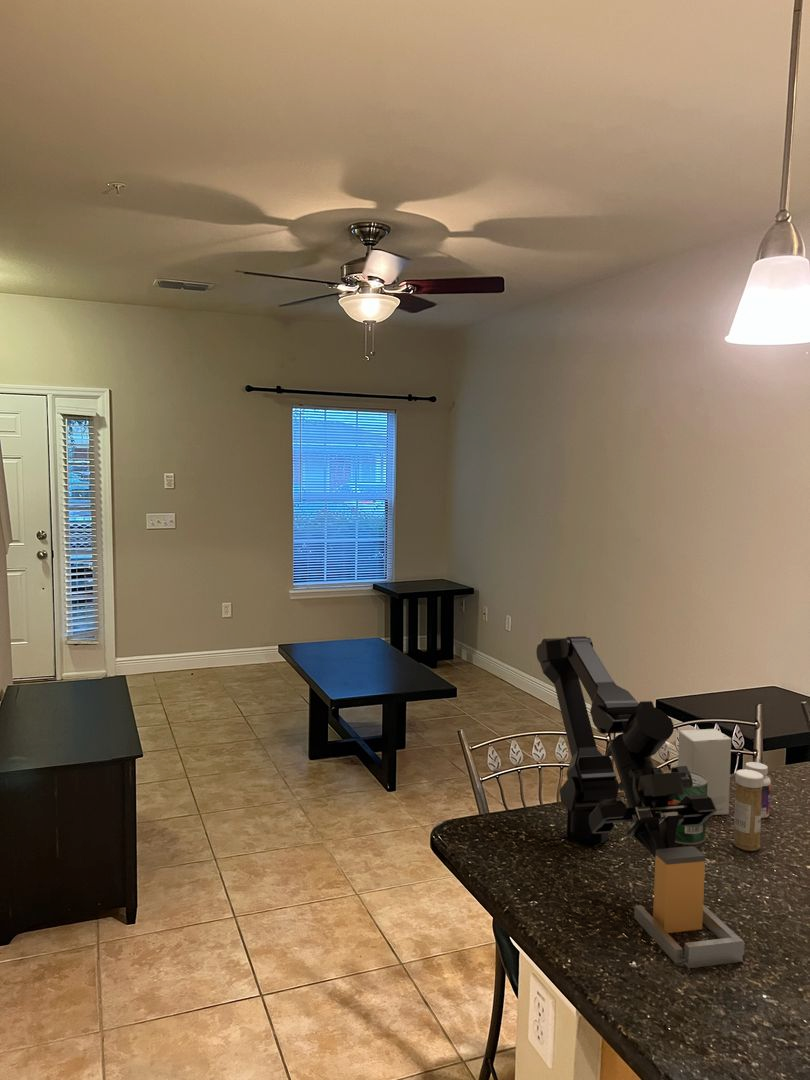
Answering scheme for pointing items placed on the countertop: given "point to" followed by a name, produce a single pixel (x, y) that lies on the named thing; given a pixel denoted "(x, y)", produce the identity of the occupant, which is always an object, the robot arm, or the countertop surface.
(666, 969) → the countertop surface
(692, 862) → the tan tall block
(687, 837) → the canned tomato
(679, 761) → the skincare box
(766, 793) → the pill bottle
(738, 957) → the gray rectangular tray
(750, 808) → the sprinkles bottle
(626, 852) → the countertop surface
